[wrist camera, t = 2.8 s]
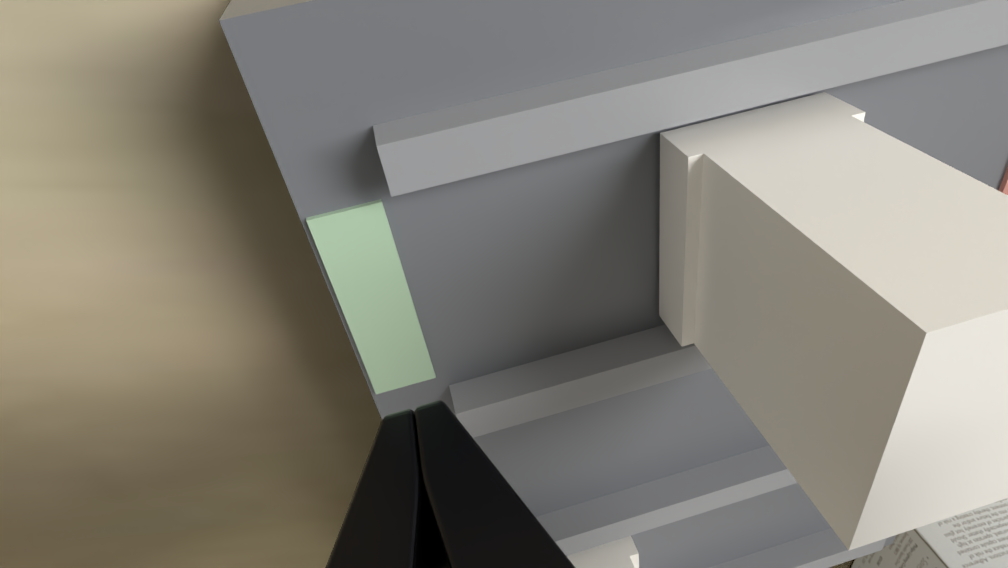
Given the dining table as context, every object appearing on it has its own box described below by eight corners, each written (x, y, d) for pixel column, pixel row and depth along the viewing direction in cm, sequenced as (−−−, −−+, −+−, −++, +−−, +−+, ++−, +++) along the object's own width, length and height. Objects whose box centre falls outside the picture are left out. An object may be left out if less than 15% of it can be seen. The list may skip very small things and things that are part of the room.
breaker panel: (1031, -184, 12) (1275, -194, 9) (836, 475, 24) (909, 564, 21) (242, -20, 10) (210, 35, 7) (470, 591, 23) (492, 705, 20)
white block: (824, 92, 11) (1169, 260, 6) (793, 277, 13) (1026, 491, 9) (660, 132, 10) (902, 340, 6) (658, 315, 13) (831, 556, 8)
